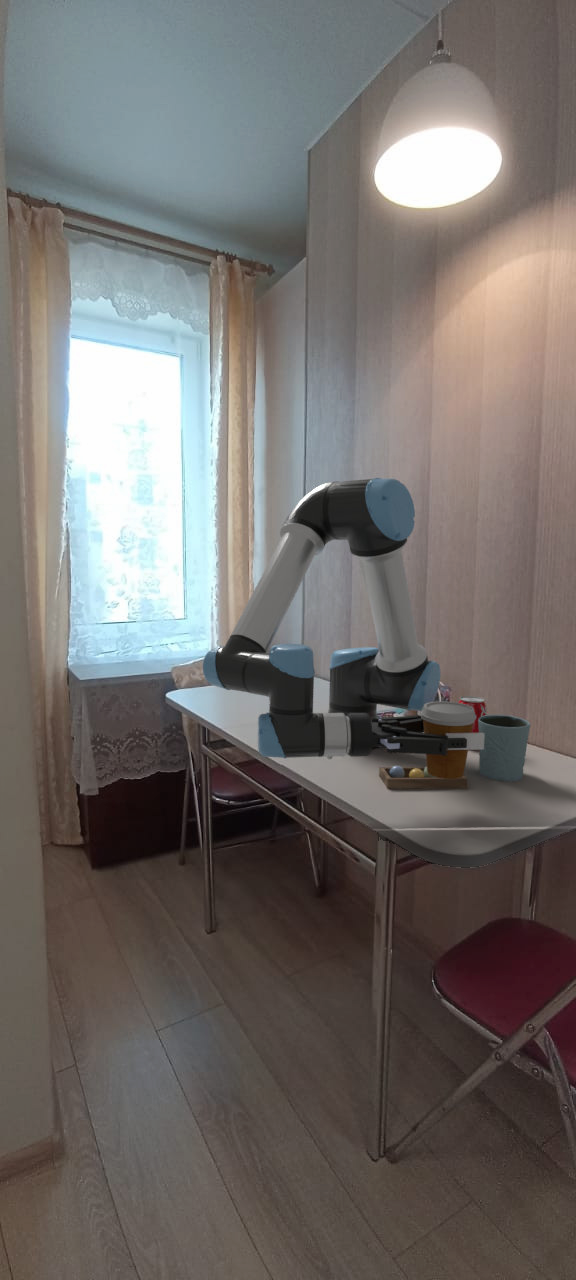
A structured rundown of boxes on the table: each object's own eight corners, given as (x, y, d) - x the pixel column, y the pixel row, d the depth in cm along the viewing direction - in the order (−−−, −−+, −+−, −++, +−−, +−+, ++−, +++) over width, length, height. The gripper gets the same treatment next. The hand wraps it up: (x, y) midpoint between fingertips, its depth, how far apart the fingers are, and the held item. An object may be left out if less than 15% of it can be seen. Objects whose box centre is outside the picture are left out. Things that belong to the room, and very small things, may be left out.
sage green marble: (421, 777, 124) (421, 763, 124) (435, 777, 125) (436, 763, 124) (425, 782, 122) (426, 768, 121) (440, 782, 122) (441, 768, 121)
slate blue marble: (387, 777, 124) (388, 763, 124) (402, 777, 124) (402, 763, 124) (391, 783, 121) (391, 768, 121) (406, 782, 121) (406, 768, 121)
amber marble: (406, 780, 122) (407, 766, 122) (421, 780, 123) (422, 766, 122) (410, 786, 119) (411, 771, 119) (425, 786, 120) (426, 771, 119)
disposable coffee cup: (432, 760, 115) (435, 698, 113) (481, 772, 109) (485, 706, 107) (408, 773, 108) (411, 707, 106) (459, 787, 102) (463, 717, 100)
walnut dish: (378, 777, 125) (379, 767, 125) (454, 777, 126) (455, 766, 126) (387, 790, 118) (387, 779, 118) (467, 789, 119) (467, 778, 119)
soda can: (478, 743, 151) (481, 695, 150) (488, 751, 144) (492, 702, 143) (450, 742, 151) (453, 695, 149) (459, 751, 144) (462, 701, 142)
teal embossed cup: (529, 773, 129) (534, 719, 128) (521, 788, 121) (525, 729, 119) (481, 765, 135) (484, 712, 133) (469, 778, 126) (473, 721, 124)
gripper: (336, 737, 117) (451, 735, 119) (357, 777, 96) (496, 775, 98) (337, 699, 116) (453, 698, 118) (359, 731, 95) (499, 729, 97)
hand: (473, 733), depth 108 cm, fingers closed on disposable coffee cup, 8 cm apart
